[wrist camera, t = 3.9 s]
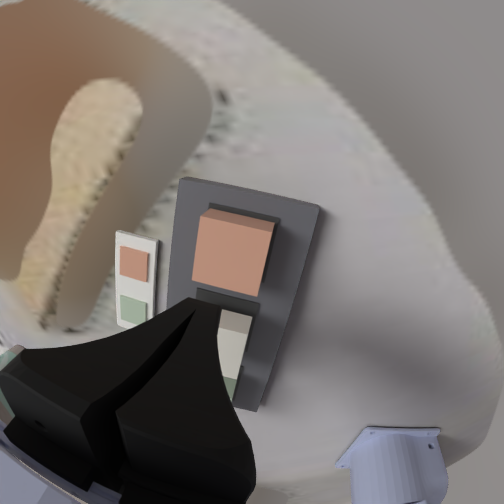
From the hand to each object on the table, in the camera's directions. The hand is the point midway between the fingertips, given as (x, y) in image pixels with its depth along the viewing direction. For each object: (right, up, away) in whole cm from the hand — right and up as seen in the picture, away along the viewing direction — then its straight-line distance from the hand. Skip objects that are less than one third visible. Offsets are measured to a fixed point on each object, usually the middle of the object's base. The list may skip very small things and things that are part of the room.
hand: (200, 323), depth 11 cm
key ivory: (0, -2, +7) cm, 7 cm away
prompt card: (-7, 0, +10) cm, 12 cm away
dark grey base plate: (0, -1, +10) cm, 10 cm away
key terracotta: (+1, +3, +6) cm, 7 cm away
